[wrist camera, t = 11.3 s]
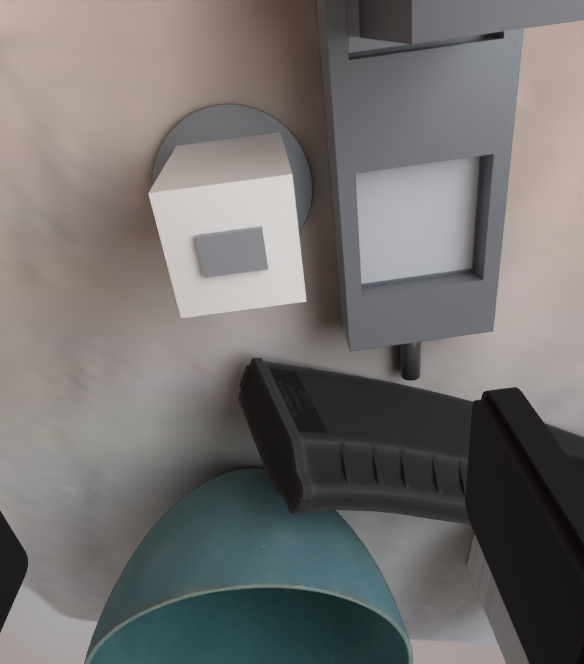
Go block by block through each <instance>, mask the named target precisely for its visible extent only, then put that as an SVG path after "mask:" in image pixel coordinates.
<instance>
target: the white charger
mask: <svg viewBox="0 0 584 664" xmlns="http://www.w3.org/2000/svg"><path fill="white" fill-rule="evenodd" d="M148 194H149V198H150V202H151V206H152V209H153V213H154V217H155V221H156V225H157V228H158V232H159V236H160V240H161V244H162V248H163V251H164V255H165V259H166V263H167V267H168V270H169V274H170V278H171V282H172V286H173V289H174V293H175V297H176V301H177V305H178V309H179V312H180V316H181V318H188V317H195V316H203V315H210V314H218V313H225V312H233V311H240V310H247V309H255V308H262V307H270V306H277V305H285V304H292V303H300V302H307V301H306V292H305V283H304V274H303V265H302V256H301V247H300V238H299V229H298V220H297V211H296V202H295V193H294V184H293V174H292V171H291V167H290V164H289V160H288V157H287V153H286V150H285V146H284V143H283V139H282V136H281V133H280V132H276V133H269V134H261V135H254V136H246V137H239V138H231V139H224V140H216V141H208V142H201V143H193V144H186V145H178V146H176V148H175V149H174V151H173V153H172V154H171V156H170V158H169V159H168V161H167V163H166V164H165V166H164V168H163V169H162V171H161V173H160V174H159V176H158V178H157V180H156V181H155V183H154V185H153V186H152V188H151V190H150V191H149V193H148Z"/></svg>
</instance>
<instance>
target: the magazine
mask: <svg viewBox="0 0 584 664" xmlns="http://www.w3.org/2000/svg"><path fill="white" fill-rule="evenodd" d="M240 388H241V390H240V393H239V402H240V404H241V407H242V409H243V412H244V415H245V417H246V420H247V423H248V425H249V428H250V430H251V433H252V436H253V438H254V441H255V444H256V446H257V449H258V451H259V454H260V457H261V459H262V462H263V465H264V467H265V470H266V473H267V475H268V478H269V480H270V483H271V485H272V487H273V488H274V490H275V491H276V492H278V493H279V494H280V495H281V496H282V497H283V498H284V499H285V502H286V504H287V507H288V509H289V512H290V513H292V514H303V512H307V511H326V510H357V511H376V512H388V513H398V514H404V515H411V516H417V517H423V518H429V519H436V520H443V521H450V522H457V523H464V524H470V521H469V518H468V515H467V511H466V506H465V494H466V481H467V469H468V456H469V443H470V430H471V417H472V406H473V402H472V401H468V400H464V399H460V398H456V397H452V396H448V395H444V394H440V393H436V392H431V391H427V390H423V389H418V388H414V387H409V386H404V385H399V384H394V383H389V382H384V381H379V380H373V379H368V378H362V377H356V376H350V375H344V374H338V373H332V372H326V371H320V370H314V369H307V368H301V367H295V366H289V365H283V364H277V363H271V362H265V361H263V360H262V358H252V360H251V363H250V366H246V369H245V372H244V375H243V377H242V380H241V383H240ZM545 425H546V427H547V428H548V429H549V431H550V432H551V434H552V435H553V436H554V438H555V439H556V441H557V442H558V443H559V445H560V446H561V448H562V449H563V450H564V452H565V453H566V455H567V456H568V455H576V456H578V457H580V458H582V459H583V460H584V437H581V436H579V435H576V434H573V433H570V432H567V431H564V430H561V429H558V428H556V427H553V426H550V425H547V424H545ZM470 525H471V524H470Z"/></svg>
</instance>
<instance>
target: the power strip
mask: <svg viewBox="0 0 584 664" xmlns="http://www.w3.org/2000/svg"><path fill="white" fill-rule="evenodd" d="M316 7H317V20H318V32H319V45H320V57H321V69H322V82H323V94H324V107H325V119H326V132H327V144H328V157H329V169H330V181H331V194H332V206H333V219H334V231H335V244H336V256H337V269H338V281H339V293H340V306H341V318H342V326H343V329H344V332H345V336H346V339H347V342H348V345H349V349H350V351H357V350H364V349H371V348H378V347H385V346H392V345H399V344H400V353H401V377H402V378H403V379H405V380H416V379H418V378H419V377H420V348H421V341H428V340H435V339H442V338H449V337H456V336H463V335H470V334H477V333H485V332H492V331H493V326H494V317H495V307H496V297H497V287H498V277H499V268H500V258H501V248H502V238H503V228H504V219H505V209H506V199H507V189H508V179H509V170H510V160H511V150H512V140H513V131H514V121H515V111H516V101H517V91H518V82H519V72H520V62H521V52H522V42H523V33H524V28H523V29H516V30H509V31H502V32H495V33H488V34H481V35H474V36H467V37H460V38H453V39H446V40H439V41H432V42H425V43H418V44H405V43H398V42H390V41H382V40H374V39H366V38H360V29H359V6H358V0H316Z"/></svg>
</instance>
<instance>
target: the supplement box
mask: <svg viewBox="0 0 584 664" xmlns="http://www.w3.org/2000/svg"><path fill="white" fill-rule="evenodd" d="M467 569H468V571H469V573H470V576H471V578H472V581H473V583H474V586H475V588H476V591H477V593H478V596H479V598H480V600H481V603H482V605H483V608H484V610H485V613H486V615H487V618H488V620H489V622H490V625H491V627H492V630H493V632H494V635H495V637H496V640H497V642H498V645H499V647H500V649H501V652H502V654H503V657H504V659H505V661H506V664H529V662H528V659H527V657H526V655H525V652H524V650H523V648H522V645H521V643H520V640H519V638H518V636H517V633H516V631H515V628H514V626H513V624H512V621H511V619H510V617H509V614H508V612H507V609H506V607H505V605H504V602H503V600H502V597H501V595H500V593H499V590H498V588H497V586H496V583H495V581H494V578H493V576H492V574H491V571H490V569H489V566H488V564H487V562H486V559H485V557H484V555H483V552H482V550H481V547H480V545H479V543H478V540H477V538H476V535H475V533H474V536H473V541H472V545H471V550H470V554H469V558H468V563H467Z"/></svg>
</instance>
